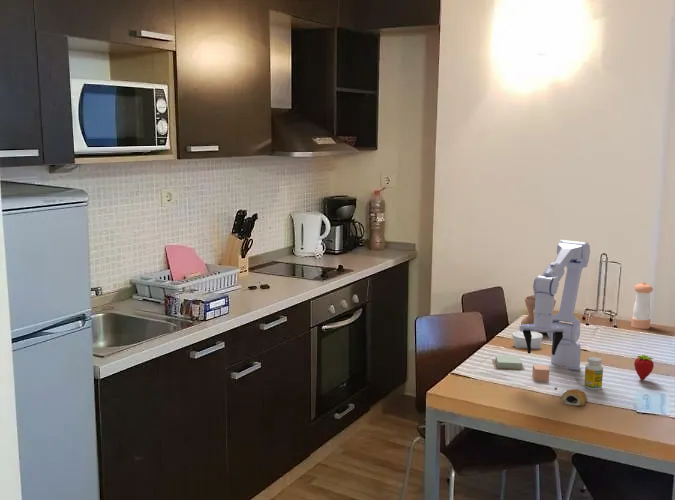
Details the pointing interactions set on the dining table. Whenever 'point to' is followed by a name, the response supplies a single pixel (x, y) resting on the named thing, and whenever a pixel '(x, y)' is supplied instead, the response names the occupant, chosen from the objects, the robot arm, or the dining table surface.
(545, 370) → the terracotta block
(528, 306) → the ceramic jug
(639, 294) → the pepper shaker
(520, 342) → the ramekin
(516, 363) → the tower top
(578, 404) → the pastry
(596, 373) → the supplement bottle
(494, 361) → the tower base
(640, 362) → the strawberry
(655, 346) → the dining table surface
